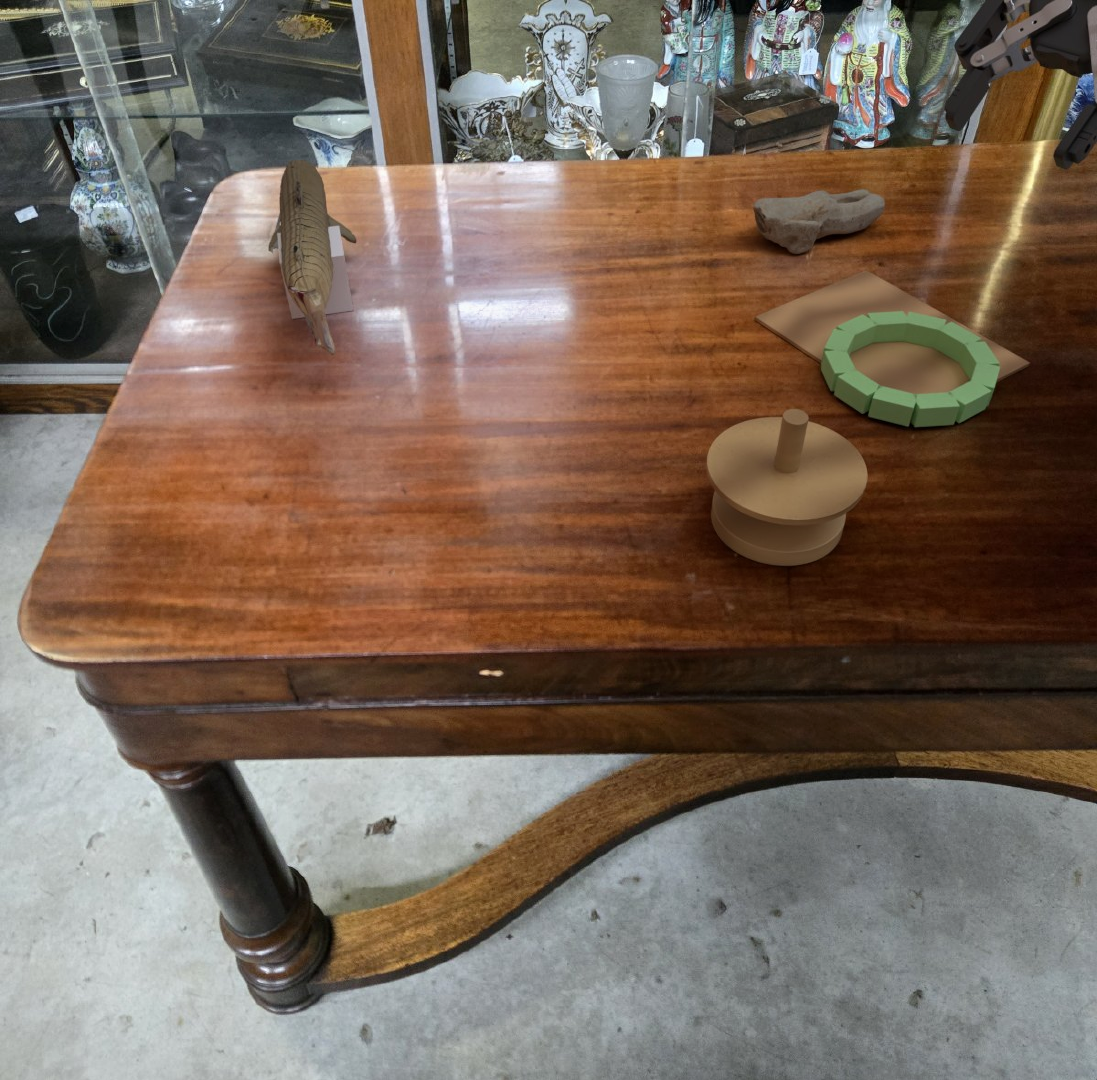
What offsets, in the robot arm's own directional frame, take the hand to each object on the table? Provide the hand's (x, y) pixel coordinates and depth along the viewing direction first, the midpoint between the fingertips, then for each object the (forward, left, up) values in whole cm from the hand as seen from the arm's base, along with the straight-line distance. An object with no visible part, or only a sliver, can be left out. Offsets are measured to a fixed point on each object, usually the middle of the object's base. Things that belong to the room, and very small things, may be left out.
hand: (1004, 143), depth 72 cm
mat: (+9, -6, -24) cm, 26 cm away
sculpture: (+28, -15, -24) cm, 40 cm away
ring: (+4, -3, -22) cm, 23 cm away
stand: (-3, +19, -24) cm, 31 cm away
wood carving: (+45, +35, -24) cm, 62 cm away
